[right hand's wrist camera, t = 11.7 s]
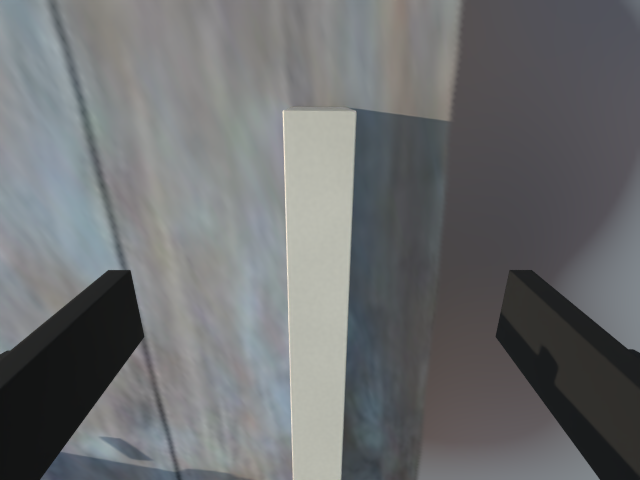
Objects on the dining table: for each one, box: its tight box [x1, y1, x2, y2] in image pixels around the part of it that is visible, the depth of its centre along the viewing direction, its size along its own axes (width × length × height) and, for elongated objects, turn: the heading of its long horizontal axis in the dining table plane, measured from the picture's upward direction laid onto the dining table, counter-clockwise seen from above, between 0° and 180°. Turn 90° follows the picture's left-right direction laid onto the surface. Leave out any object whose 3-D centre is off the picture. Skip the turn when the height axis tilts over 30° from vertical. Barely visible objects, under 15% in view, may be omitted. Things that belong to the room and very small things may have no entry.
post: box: [283, 107, 357, 480], centre depth 41 cm, size 69×5×9 cm, turn 0°
